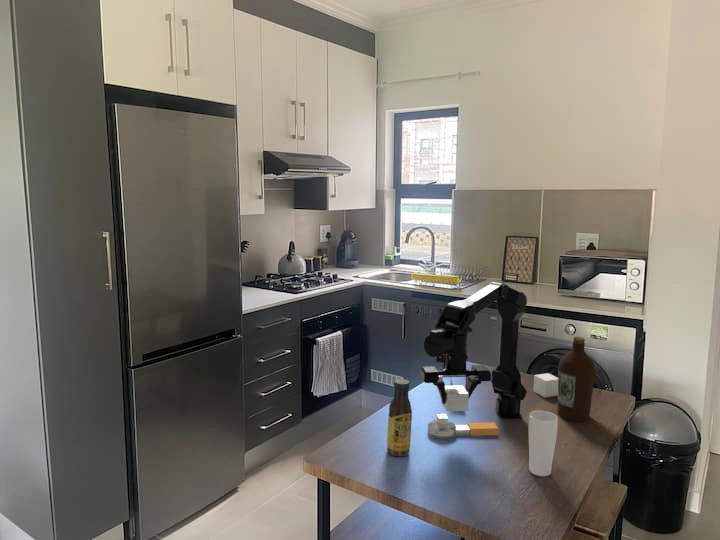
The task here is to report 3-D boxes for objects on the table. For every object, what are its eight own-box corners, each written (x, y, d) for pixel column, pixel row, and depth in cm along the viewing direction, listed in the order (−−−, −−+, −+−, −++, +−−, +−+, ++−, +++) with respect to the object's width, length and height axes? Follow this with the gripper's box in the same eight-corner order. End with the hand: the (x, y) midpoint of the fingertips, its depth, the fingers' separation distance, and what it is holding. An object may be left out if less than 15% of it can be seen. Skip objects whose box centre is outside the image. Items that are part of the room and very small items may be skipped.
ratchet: (491, 426, 159) (492, 409, 158) (500, 438, 151) (501, 420, 151) (425, 427, 158) (425, 410, 157) (430, 440, 150) (431, 422, 149)
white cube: (547, 389, 189) (548, 373, 188) (558, 395, 183) (560, 378, 182) (533, 391, 187) (534, 375, 186) (544, 397, 181) (545, 380, 180)
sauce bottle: (394, 460, 139) (395, 387, 136) (382, 449, 145) (383, 379, 141) (415, 454, 142) (417, 383, 139) (402, 444, 148) (404, 375, 144)
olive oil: (573, 406, 174) (579, 332, 170) (599, 419, 164) (606, 341, 160) (547, 411, 170) (553, 335, 166) (572, 425, 160) (579, 345, 156)
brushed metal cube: (461, 401, 152) (462, 385, 151) (468, 410, 146) (468, 393, 145) (441, 402, 152) (441, 385, 151) (446, 411, 146) (447, 394, 145)
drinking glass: (553, 467, 136) (557, 412, 134) (554, 481, 130) (558, 423, 127) (526, 462, 138) (529, 408, 136) (525, 476, 132) (528, 419, 130)
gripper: (480, 339, 155) (477, 390, 158) (416, 341, 153) (415, 393, 156) (493, 351, 144) (490, 406, 147) (425, 353, 142) (424, 408, 145)
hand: (454, 403), depth 149 cm, fingers closed on brushed metal cube, 6 cm apart
